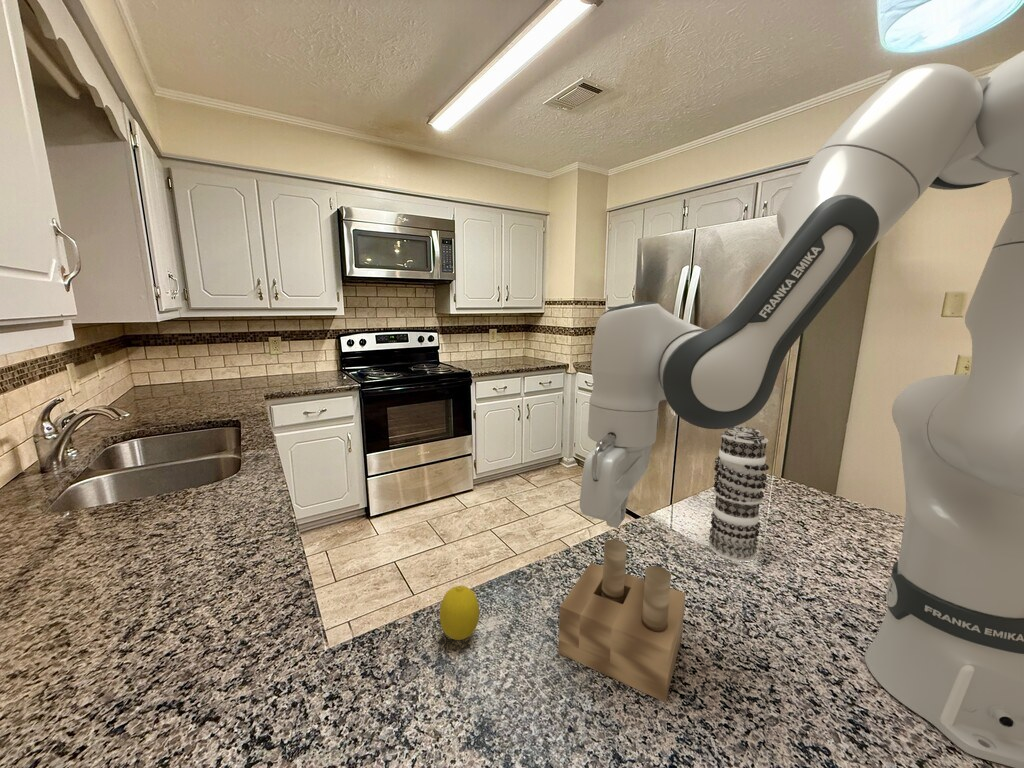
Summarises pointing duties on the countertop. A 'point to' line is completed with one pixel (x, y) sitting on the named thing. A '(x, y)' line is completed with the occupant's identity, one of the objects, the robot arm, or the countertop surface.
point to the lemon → (459, 612)
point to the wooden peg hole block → (625, 629)
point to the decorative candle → (738, 493)
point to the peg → (614, 570)
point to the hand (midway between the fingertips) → (615, 522)
